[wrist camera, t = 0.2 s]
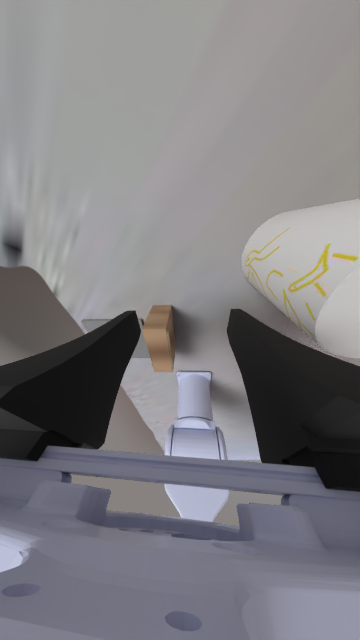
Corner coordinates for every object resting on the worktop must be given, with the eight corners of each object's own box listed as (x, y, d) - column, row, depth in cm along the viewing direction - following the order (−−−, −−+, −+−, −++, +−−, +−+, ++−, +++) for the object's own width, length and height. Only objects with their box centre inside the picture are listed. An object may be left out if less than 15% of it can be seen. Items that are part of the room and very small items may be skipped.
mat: (152, 356, 28) (151, 357, 28) (104, 355, 29) (103, 357, 29) (141, 318, 22) (140, 320, 22) (82, 319, 23) (81, 321, 23)
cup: (234, 236, 15) (324, 250, 5) (322, 191, 12) (848, 44, 2) (247, 296, 19) (309, 369, 9) (314, 271, 16) (502, 336, 7)
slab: (176, 344, 26) (173, 372, 21) (161, 344, 26) (154, 371, 21) (171, 305, 20) (166, 328, 16) (152, 305, 21) (141, 328, 16)
